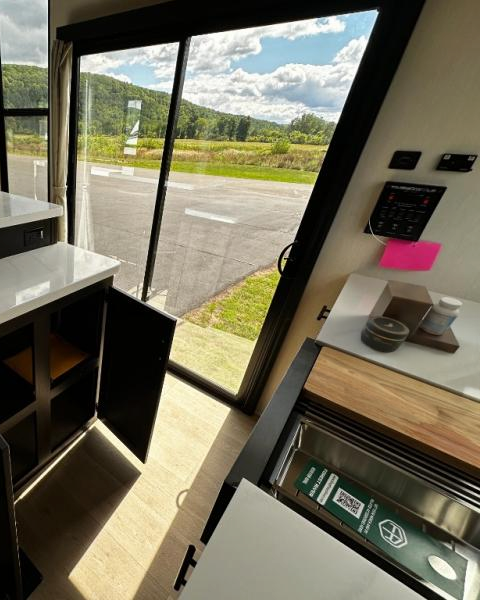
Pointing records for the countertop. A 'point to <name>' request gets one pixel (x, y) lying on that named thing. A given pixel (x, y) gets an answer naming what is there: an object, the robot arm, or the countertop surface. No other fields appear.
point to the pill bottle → (441, 316)
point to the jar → (384, 333)
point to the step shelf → (412, 314)
